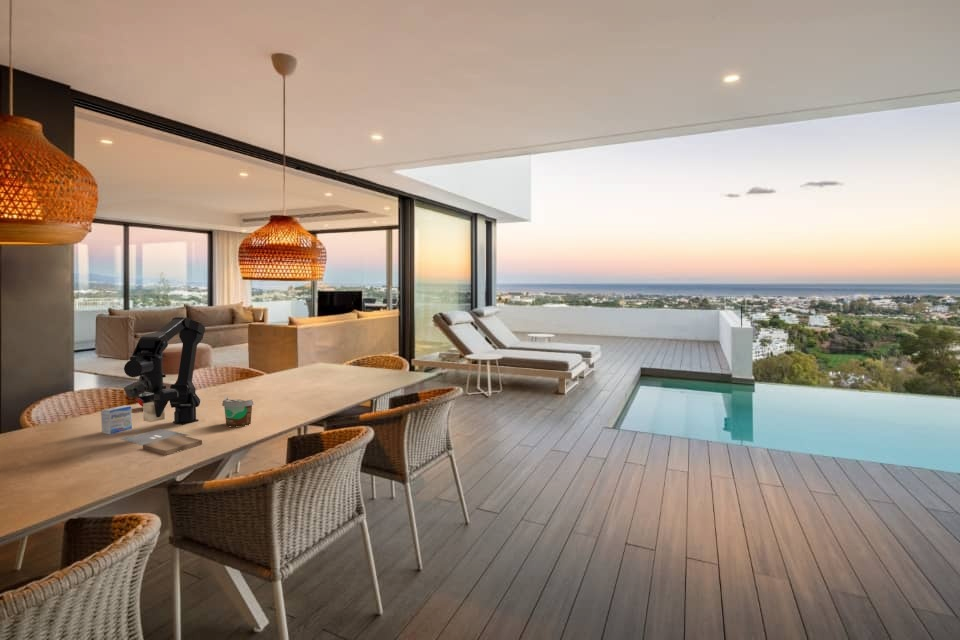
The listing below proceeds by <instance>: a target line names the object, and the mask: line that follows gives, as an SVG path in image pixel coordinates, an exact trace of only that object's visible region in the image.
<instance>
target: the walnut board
mask: <svg viewBox="0 0 960 640" xmlns="http://www.w3.org/2000/svg"><path fill="white" fill-rule="evenodd" d="M201 444H202V445H203V440H202V439H198V438H194V437H191V436H182V435H177V436H173V437H170V438H166V439H162V440H159V441H155V442H151V443H148V444H144V445H142V449H143V450H146V451H150V452H153V453H158V454H161V455H164V454H165V455H164V456H167V455H166V454H169V455H171V454H170V453H172V454H174V453H173V452H176V453H178V452H177V451H179V452H181V451H180V450H182V451H185V450H184V449H186V450H188V449H187V448H189V449H192V448H195V446H196V447H199V446H202V445H201ZM198 445H199V446H198ZM191 447H192V448H191Z"/></svg>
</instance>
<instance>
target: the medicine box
mask: <svg viewBox="0 0 960 640" xmlns="http://www.w3.org/2000/svg"><path fill="white" fill-rule="evenodd" d="M132 413H133V412H132V406H131V405H126V404H125V405H120V406H114V407H110V408H105V409H102V410H100V415H101V416H100V418H101V433H102V434H105V435H106V434H107V435H113V434H116V433H117V434H118V433H121V432H124V431H127V430H131V429H133V419H132V417H133V415H132Z"/></svg>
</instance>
